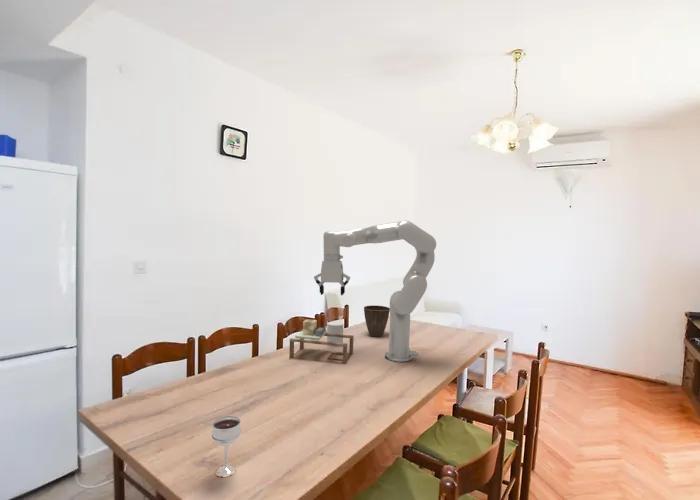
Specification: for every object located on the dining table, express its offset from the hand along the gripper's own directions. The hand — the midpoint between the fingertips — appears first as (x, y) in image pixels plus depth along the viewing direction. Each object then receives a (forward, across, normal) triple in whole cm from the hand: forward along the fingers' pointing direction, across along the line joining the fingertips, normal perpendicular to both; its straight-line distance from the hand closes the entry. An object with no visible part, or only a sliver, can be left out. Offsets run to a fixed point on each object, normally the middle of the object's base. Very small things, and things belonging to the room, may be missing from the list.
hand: (332, 294), depth 177 cm
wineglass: (+28, +4, +89) cm, 94 cm away
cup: (+30, +3, -15) cm, 33 cm away
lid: (+19, +9, +5) cm, 21 cm away
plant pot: (+30, -15, -42) cm, 54 cm away
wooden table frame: (+29, +4, +5) cm, 30 cm away
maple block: (+18, +10, +5) cm, 21 cm away
